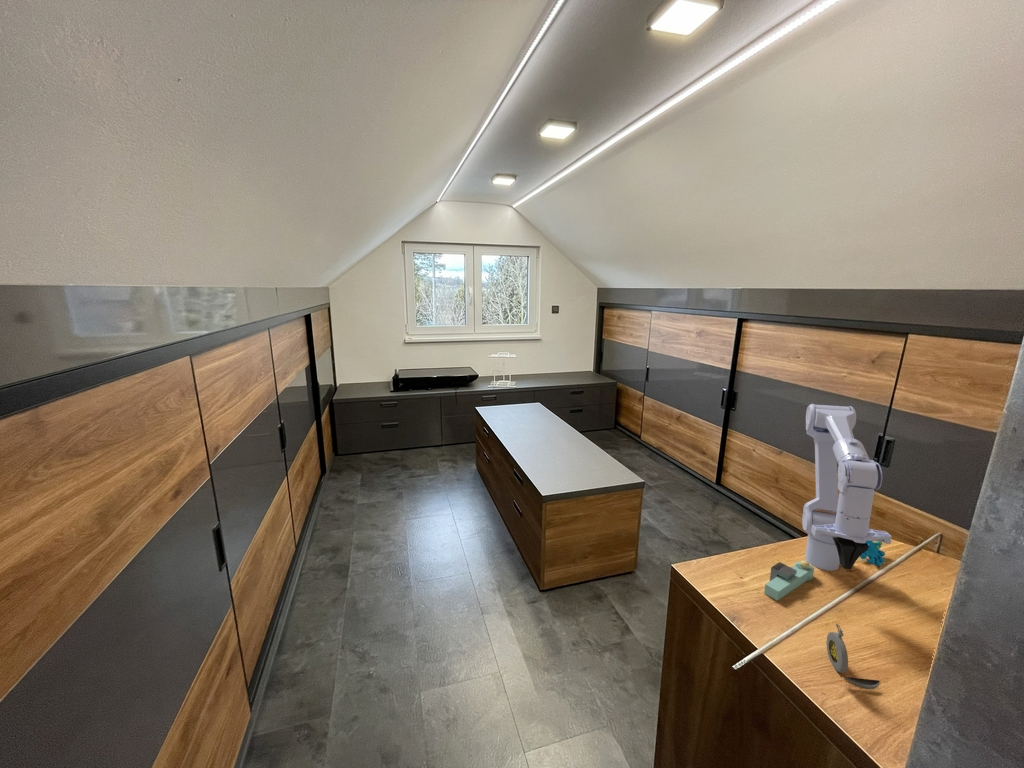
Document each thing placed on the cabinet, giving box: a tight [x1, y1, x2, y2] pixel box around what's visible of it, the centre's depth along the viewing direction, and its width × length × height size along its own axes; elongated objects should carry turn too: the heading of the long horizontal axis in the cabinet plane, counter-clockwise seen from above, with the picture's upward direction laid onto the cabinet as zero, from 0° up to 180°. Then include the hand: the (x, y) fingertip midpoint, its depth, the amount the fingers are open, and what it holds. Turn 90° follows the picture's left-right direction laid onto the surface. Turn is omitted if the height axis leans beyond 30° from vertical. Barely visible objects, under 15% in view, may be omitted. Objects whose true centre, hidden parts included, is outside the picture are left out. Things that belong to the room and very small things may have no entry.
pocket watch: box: [826, 622, 881, 690], centre depth 77 cm, size 8×8×10 cm
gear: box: [859, 541, 886, 567], centre depth 112 cm, size 11×6×10 cm
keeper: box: [769, 561, 797, 581], centre depth 101 cm, size 4×4×5 cm
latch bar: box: [764, 559, 815, 601], centre depth 100 cm, size 17×4×4 cm, turn 120°
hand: (845, 566), depth 93 cm, fingers closed
